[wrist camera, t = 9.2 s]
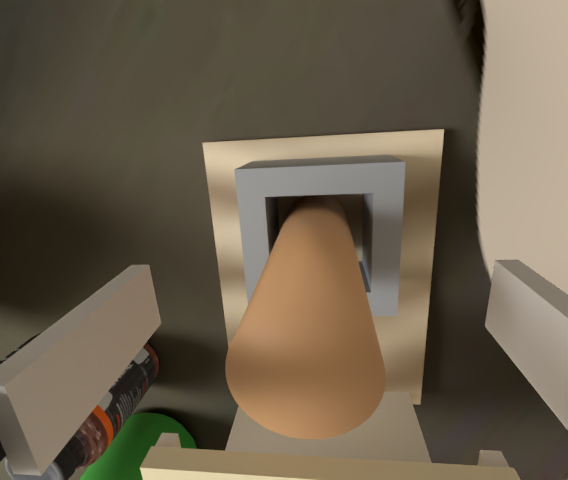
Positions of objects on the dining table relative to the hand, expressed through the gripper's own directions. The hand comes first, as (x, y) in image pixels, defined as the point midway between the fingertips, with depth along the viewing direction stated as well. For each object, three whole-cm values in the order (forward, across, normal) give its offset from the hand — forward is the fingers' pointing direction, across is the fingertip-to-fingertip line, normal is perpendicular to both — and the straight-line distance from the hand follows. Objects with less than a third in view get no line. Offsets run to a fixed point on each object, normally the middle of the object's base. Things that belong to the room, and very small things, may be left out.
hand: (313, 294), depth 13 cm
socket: (+12, 0, -1) cm, 12 cm away
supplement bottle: (+13, -18, -14) cm, 26 cm away
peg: (+12, 0, -1) cm, 12 cm away
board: (+13, 0, -6) cm, 14 cm away
